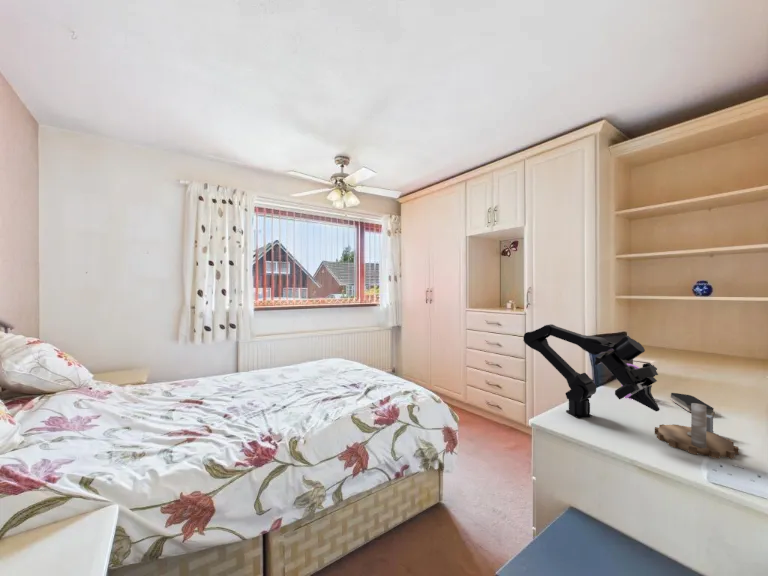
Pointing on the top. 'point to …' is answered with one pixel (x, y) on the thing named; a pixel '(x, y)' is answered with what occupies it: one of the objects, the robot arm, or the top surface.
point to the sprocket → (697, 436)
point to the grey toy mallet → (709, 423)
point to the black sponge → (689, 402)
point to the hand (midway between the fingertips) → (658, 410)
